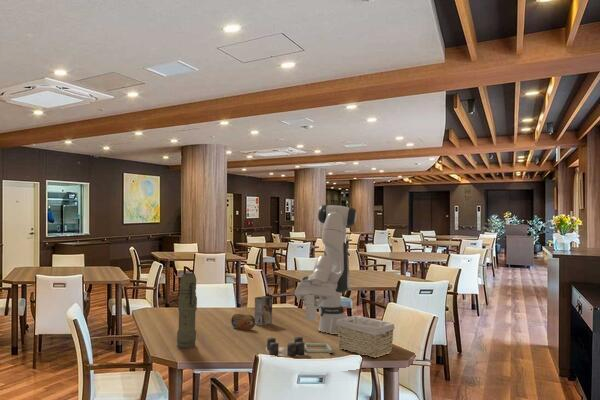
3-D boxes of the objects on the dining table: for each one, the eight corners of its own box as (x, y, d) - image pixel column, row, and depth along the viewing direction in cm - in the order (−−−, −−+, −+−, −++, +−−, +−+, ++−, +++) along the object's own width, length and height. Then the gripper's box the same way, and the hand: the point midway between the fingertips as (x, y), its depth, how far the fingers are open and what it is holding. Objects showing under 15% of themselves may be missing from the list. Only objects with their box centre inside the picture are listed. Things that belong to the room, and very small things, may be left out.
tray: (327, 347, 230) (327, 343, 230) (332, 354, 218) (332, 349, 218) (303, 347, 229) (303, 343, 229) (306, 354, 217) (306, 350, 217)
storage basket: (395, 354, 221) (396, 322, 222) (375, 360, 210) (376, 327, 210) (355, 344, 238) (355, 314, 239) (334, 349, 226) (335, 319, 227)
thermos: (186, 342, 234) (189, 271, 236) (201, 346, 226) (203, 274, 228) (171, 345, 228) (173, 273, 230) (185, 350, 220) (187, 275, 222)
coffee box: (264, 322, 286) (264, 295, 286) (272, 323, 282) (272, 296, 282) (253, 324, 278) (254, 297, 279) (262, 326, 274) (262, 298, 275)
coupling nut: (316, 318, 223) (315, 293, 224) (317, 320, 219) (316, 294, 219) (305, 319, 223) (305, 293, 223) (306, 321, 218) (305, 294, 219)
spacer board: (302, 349, 226) (303, 336, 226) (307, 358, 211) (307, 344, 211) (265, 349, 224) (265, 336, 224) (267, 359, 208) (267, 345, 209)
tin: (230, 327, 269) (231, 313, 269) (234, 326, 271) (234, 312, 272) (252, 331, 262) (253, 315, 262) (255, 330, 264) (256, 315, 265)
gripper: (340, 286, 228) (333, 310, 218) (302, 285, 237) (294, 308, 227) (336, 278, 224) (329, 302, 215) (298, 277, 233) (289, 300, 224)
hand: (311, 305), depth 221 cm, fingers closed on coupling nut, 4 cm apart
